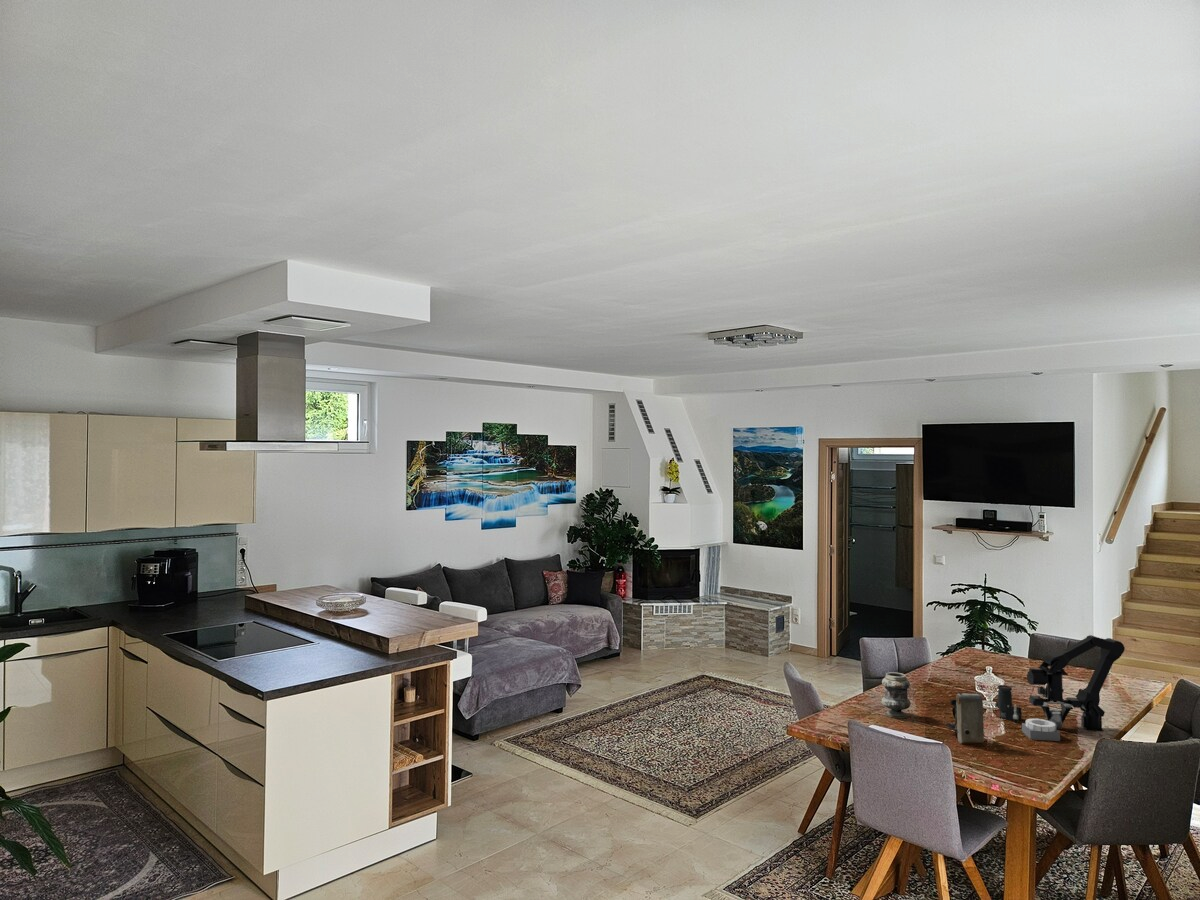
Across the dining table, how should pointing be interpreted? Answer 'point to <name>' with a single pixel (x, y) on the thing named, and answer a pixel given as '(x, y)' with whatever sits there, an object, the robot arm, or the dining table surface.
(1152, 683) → the dining table surface
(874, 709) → the dining table surface
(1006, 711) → the scope
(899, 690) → the grey stone urn
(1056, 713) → the door knob
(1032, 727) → the segmented white collar
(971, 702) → the vintage camera
